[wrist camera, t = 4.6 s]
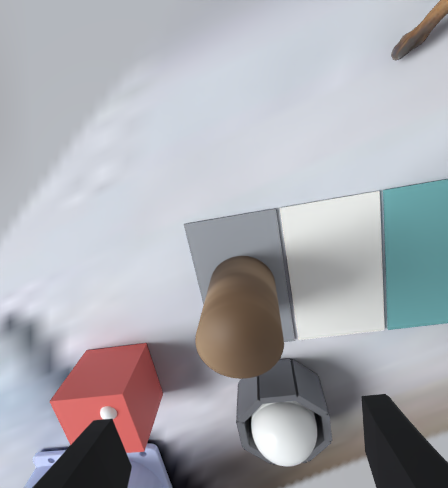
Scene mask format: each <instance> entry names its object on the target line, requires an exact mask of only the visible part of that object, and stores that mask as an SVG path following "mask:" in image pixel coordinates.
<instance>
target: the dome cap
mask: <svg viewBox="0 0 448 488" xmlns="http://www.w3.org/2000/svg"><path fill="white" fill-rule="evenodd" d="M251 429H252V435H253V439H254V442H255V444H256V446H257V448H258V450H259V451H260V452H261V453H262V455H263V456H264V457H265V458H267V459H268V460H269V461H271V462H273V463H275V464H277V465H280V466H295V465H298V464H300V463H301V462H303V461H305V460H306V459H307V458H308V457H309V456H310V454H311V453H312V451H313V449H314V447H315V444H316V440H317V424H316V420H315V415H314V412H313V411H312V410H310V409H308V408H306V407H305V406H303V405H301V404H300V403H298V402H296V401H290V402H279V403H268V404H262V405H261V406H260V407H259V408H258V409H257V410H256V411H255V412H254V413H253V414H252V415H251Z"/></svg>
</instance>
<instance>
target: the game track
mask: <svg viewBox="0 0 448 488" xmlns="http://www.w3.org/2000/svg"><path fill="white" fill-rule="evenodd" d="M383 201H384V232H385V264H386V295H387V326H388V330H392V329H401V328H410V327H418V326H427V325H436V324H444V323H448V179H445V180H439V181H433V182H427V183H422V184H416V185H410V186H404V187H398V188H392V189H386V190H383ZM280 214H281V221H282V228H283V235H284V242H285V249H286V256H287V264H288V271H289V278H290V285H291V292H292V299H293V306H294V313H295V320H296V327H297V334H298V340H306V339H314V338H323V337H332V336H340V335H349V334H358V333H366V332H375V331H384V330H385V328H384V300H383V272H382V244H381V216H380V191H375V192H369V193H363V194H357V195H351V196H346V197H340V198H334V199H328V200H322V201H316V202H311V203H305V204H299V205H293V206H287V207H281V208H280ZM184 227H185V231H186V235H187V239H188V243H189V247H190V251H191V255H192V260H193V264H194V268H195V272H196V276H197V280H198V284H199V288H200V292H201V296H202V300H203V304H204V302H205V298H206V295H207V291H208V287H209V284H210V280H211V276H212V274H213V272H214V270H215V269H216V267H217V266H218V265H219V264H220V263H222V262H223V261H225V260H227V259H229V258H231V257H236V256H249V257H253V258H256V259H258V260H260V261H261V262H263V263H264V264H265V265H266V266H267V267H268V268H269V269H270V270H271V272H272V274H273V276H274V279H275V284H276V291H277V298H278V304H279V311H280V318H281V324H282V331H283V338H284V342H288V341H295V337H294V330H293V324H292V317H291V310H290V303H289V296H288V289H287V282H286V276H285V269H284V262H283V255H282V248H281V241H280V234H279V227H278V221H277V214H276V209H270V210H264V211H258V212H252V213H246V214H241V215H235V216H229V217H223V218H217V219H211V220H206V221H200V222H194V223H188V224H184Z"/></svg>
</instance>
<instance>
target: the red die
mask: <svg viewBox="0 0 448 488" xmlns="http://www.w3.org/2000/svg"><path fill="white" fill-rule="evenodd" d="M162 395H163V392H162V389H161V386H160V383H159V380H158V377H157V373H156V370H155V367H154V364H153V361H152V358H151V355H150V352H149V349H148V346H147V343H143V344H135V345H127V346H119V347H110V348H102V349H94V350H86V352H85V353H84V354H83V356H82V357H81V359H80V360H79V361H78V363H77V364H76V366H75V367H74V368H73V370H72V371H71V372H70V374H69V375H68V377H67V378H66V379H65V381H64V382H63V384H62V385H61V386H60V388H59V389H58V390H57V392H56V393H55V395H54V396H53V397H52V399H51V400H50V403H51V405H52V408H53V410H54V412H55V414H56V416H57V418H58V420H59V422H60V424H61V426H62V428H63V430H64V432H65V434H66V437H67V439H68V441H69V443H70V445H71V444H72V443H73V442H74V441H75V440H76V439H77V438H78V436H79V435H80V434H81V433H82V432H83V431H84V430H85V429H86V428H87V427H88V426H89V425H90V423H91V422H92V421H93V420H102V419H113V421H114V424H115V426H116V429H117V431H118V434H119V436H120V439H121V441H122V443H123V446H124V448H125V451H126V453H133V452H145V449H146V445H147V442H148V439H149V436H150V433H151V430H152V427H153V424H154V420H155V417H156V414H157V411H158V408H159V405H160V402H161V399H162Z"/></svg>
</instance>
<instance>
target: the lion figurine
mask: <svg viewBox="0 0 448 488" xmlns="http://www.w3.org/2000/svg"><path fill="white" fill-rule="evenodd" d="M446 14H448V0H440V1H439V2H438V3H437V4H436V6H435V7H434V8H433V9H432V10H431V11H430V12H429V13H428V14H427V16H426V17H425V18H424V20H423V21H422V22H421V23H420V24H419V25H418V26H417V27H416V28H415V29H413V30H412V31H411V32H409V33H407V34H405V35H404V36H403V37H402V38H401V40H400V42H399V43H398V44H397V45H396V46H395V47H394V49H393V51H392V54H391V56H392V58H393V60H399V59H401V58H402V57H404V56H405V55H406V54H408V53H409V52H410V51H411V50H413V49H415V48H416V47H418V46H419V45H421V44H422V43H423V42H424V41H425V40H426V38H427V37H428V35H429V34H430V32H431V31H432V30H433V28H434V27H435V26H436V25H437V24H438V23H439V22H440V20H441V19H442V18H443V17H444V16H445V15H446Z"/></svg>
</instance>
